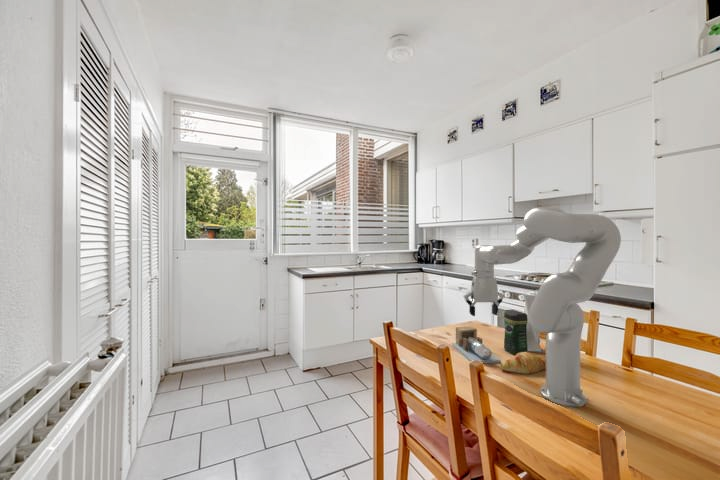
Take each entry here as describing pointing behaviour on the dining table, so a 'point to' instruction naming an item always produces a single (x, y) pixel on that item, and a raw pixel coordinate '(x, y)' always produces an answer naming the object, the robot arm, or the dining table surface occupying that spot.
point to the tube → (479, 348)
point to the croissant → (524, 363)
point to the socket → (465, 334)
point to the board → (475, 355)
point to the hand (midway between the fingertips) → (483, 314)
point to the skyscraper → (532, 334)
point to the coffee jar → (515, 331)
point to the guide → (465, 343)
